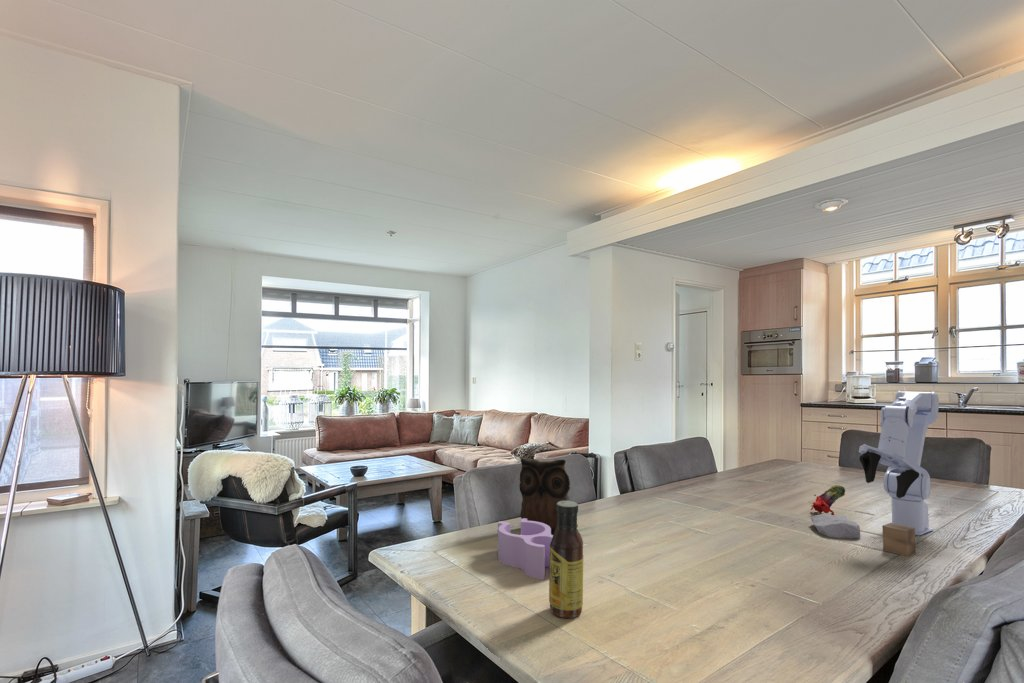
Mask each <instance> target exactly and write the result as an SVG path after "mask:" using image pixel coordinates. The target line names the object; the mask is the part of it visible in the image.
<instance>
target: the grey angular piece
mask: <svg viewBox="0 0 1024 683" xmlns="http://www.w3.org/2000/svg"><path fill="white" fill-rule="evenodd" d="M810 519H811V521H812V524H813V526H814V527H815V528H816V530H817V533H819V534H821V535H824V536H825V537H829V538H839V539H841V538H842V539H845V538H846V539H860V538H861V528H860V525H859V524H858V522H856V521H854V520H849V519H848V518H847V516H845V515H840V516H839V515H835V514H834V515H831V514H829V513H819V514H817V515H816V514H815V515H812V516H811V517H810Z"/></svg>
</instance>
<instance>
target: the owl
mask: <svg viewBox="0 0 1024 683" xmlns="http://www.w3.org/2000/svg"><path fill="white" fill-rule="evenodd" d="M566 461H567V460H566V459H551V458H550V459H549V458H548V459H544V458H536V459H535V458H524V457H521V458H520V462H521V470H520V473H519V491H520V494H521V498H522V499H521V500H522V501H521V508H520V515H519V517H520V518H521V519H520V520H522V518H526V519H527V520H528V521H536V522H541V523H544V524H546V525H548V526H550V528H551V535H553V534H554V532H555V529H556V526H557V511H556V504H557V503H558V502H559V501H571V500H570V497H569V495H568V494H569V491H570V490H571V481H570V476H569V474H568V473H567V470H566V467H565V465H566Z"/></svg>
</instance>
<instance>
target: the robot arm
mask: <svg viewBox="0 0 1024 683" xmlns="http://www.w3.org/2000/svg"><path fill="white" fill-rule="evenodd" d="M939 399H940V398H939V395H938V393H937V392H936V391H908V390H907V391H905V390H904V391H903V390H898V391H897V392H896V393H895V400H894V401H893V402H892V403H891V404H890V405H885V406H884V407H881V409H880V426H879V427H880V429H881V430H880V435H879V440H878V447H873V446H870V445H868V444H866V443H864V444H862V445H860V446H859V449H858V453H860V454H861V455H860V456H859V462H860V463H861V466H862V468H863V472H864V475H865V476H864V478H865V482H866V483H867V484H870V483H873V482H874V481H875V479H876V474H877V468H878V465H879V464H881V465H883V466H885V467H886V466H887V469H886V472H885V473H884V475H883V489H884V491H885V492H886V494H888V496H889V497H890V498H891V501H890V502H891V503H890V504H891V523H895V524H900V525H904V526H909V527H913V528H915V536H922V535H924V534H926V533H929V532H931V531H933V530H934V528H932V527H930V525H929V521H930V519H929V507H928V506H929V505H928V504H927V502H926V501H925V500H928V499H929V498H930V496H931V477H930V474H929V472H928V470H926V469H925V468H923V467H922V466H921V464H922V458H923V457H922V456H923V453H924V445H925V440H926V434H927V431H928V428H929V426H930V425H931V424H933V423H936V421H937V418H938V415H939V406H940V402H939Z"/></svg>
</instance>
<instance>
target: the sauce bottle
mask: <svg viewBox="0 0 1024 683" xmlns="http://www.w3.org/2000/svg"><path fill="white" fill-rule="evenodd" d="M556 511H557V526H556V529H555V532H554V534H553V537H552V540H551V543H550V565H549V567H548V569H549V573H548V574H549V576H548V577H549V580H548V581H549V583H548V584H549V586H548V587H549V588H548V591H549V593H548V595H549V596H548V601H549V610H550V611H551V612H552V614H553V615H555V616H556V617H558V618H565V619H569V618H570V619H571V618H576V617H579V616H581V614H582V612H583V605H584V540H583V537H582V535H581V533H580V532H579V530H578V512H579V504H578V502H575V501H573V500H570V501H559V502H558V503H557V504H556Z"/></svg>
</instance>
